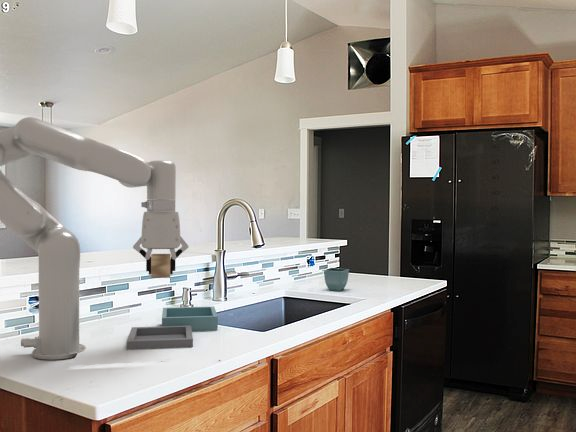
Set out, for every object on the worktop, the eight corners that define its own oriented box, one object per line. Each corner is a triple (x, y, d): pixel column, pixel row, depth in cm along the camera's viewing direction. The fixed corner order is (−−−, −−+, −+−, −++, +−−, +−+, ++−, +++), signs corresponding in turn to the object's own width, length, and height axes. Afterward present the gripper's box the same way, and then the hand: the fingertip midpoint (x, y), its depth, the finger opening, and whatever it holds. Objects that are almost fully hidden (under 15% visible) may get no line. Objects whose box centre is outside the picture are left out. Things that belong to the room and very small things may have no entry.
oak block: (151, 278, 154) (151, 255, 154) (151, 275, 159) (151, 253, 159) (170, 277, 155) (170, 255, 155) (170, 275, 160) (170, 253, 160)
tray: (161, 335, 168) (161, 318, 168) (162, 323, 183) (163, 307, 183) (217, 333, 171) (217, 316, 171) (214, 321, 186) (214, 306, 186)
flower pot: (342, 292, 248) (342, 271, 248) (323, 290, 252) (323, 270, 252) (349, 289, 256) (349, 269, 256) (330, 287, 260) (330, 267, 260)
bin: (126, 353, 148) (126, 341, 148) (131, 337, 164) (131, 327, 164) (192, 350, 151) (192, 339, 151) (191, 335, 168) (191, 325, 167)
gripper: (127, 206, 151) (127, 276, 152) (193, 207, 155) (193, 275, 155) (129, 206, 159) (129, 272, 159) (192, 206, 162) (192, 271, 163)
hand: (160, 273), depth 157 cm, fingers closed on oak block, 4 cm apart
